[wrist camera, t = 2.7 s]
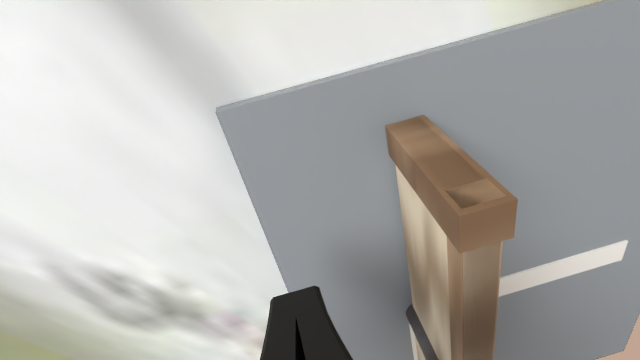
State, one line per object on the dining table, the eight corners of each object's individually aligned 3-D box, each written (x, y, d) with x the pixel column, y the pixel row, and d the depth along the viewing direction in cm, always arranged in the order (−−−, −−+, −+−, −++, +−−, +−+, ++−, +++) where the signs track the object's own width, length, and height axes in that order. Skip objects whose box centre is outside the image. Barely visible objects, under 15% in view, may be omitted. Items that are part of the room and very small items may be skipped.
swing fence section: (436, 298, 18) (496, 408, 14) (408, 306, 18) (461, 419, 14) (423, 114, 13) (517, 199, 8) (384, 125, 13) (459, 216, 8)
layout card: (618, 345, 26) (625, 352, 25) (345, 429, 25) (347, 437, 25) (777, -48, 13) (795, -48, 12) (216, 107, 12) (215, 113, 12)
